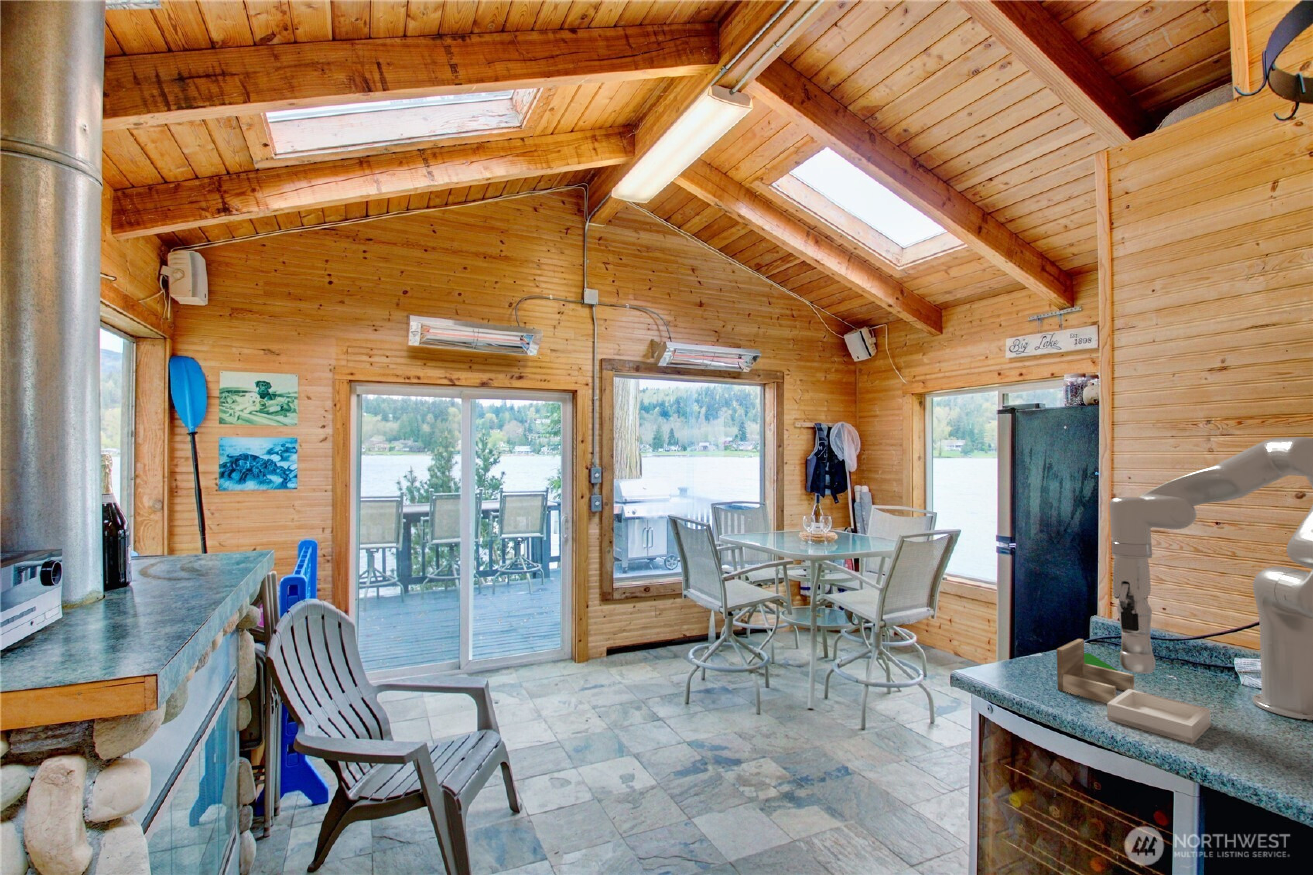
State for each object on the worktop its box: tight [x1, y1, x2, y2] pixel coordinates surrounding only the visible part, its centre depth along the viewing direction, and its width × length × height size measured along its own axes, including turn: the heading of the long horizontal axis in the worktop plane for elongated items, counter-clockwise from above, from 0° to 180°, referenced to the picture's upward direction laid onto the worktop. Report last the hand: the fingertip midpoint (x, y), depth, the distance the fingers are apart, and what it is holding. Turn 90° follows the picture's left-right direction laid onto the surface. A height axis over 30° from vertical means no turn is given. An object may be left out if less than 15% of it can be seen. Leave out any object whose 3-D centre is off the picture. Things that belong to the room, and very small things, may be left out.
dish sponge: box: [1084, 652, 1119, 671], centre depth 168 cm, size 7×14×2 cm, turn 171°
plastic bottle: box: [1116, 597, 1157, 675], centre depth 146 cm, size 6×7×20 cm
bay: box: [1056, 638, 1135, 704], centre depth 152 cm, size 12×13×10 cm
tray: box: [1106, 689, 1212, 745], centre depth 134 cm, size 14×13×4 cm
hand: (1135, 626), depth 146 cm, fingers closed on plastic bottle, 6 cm apart
